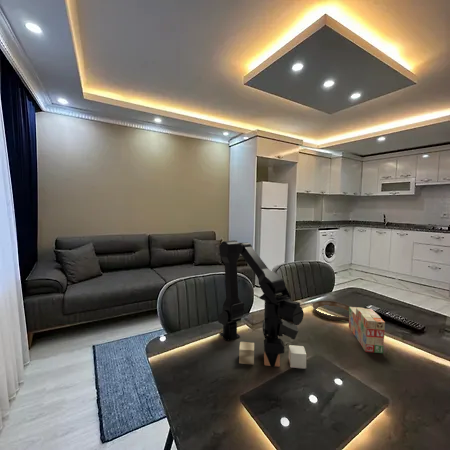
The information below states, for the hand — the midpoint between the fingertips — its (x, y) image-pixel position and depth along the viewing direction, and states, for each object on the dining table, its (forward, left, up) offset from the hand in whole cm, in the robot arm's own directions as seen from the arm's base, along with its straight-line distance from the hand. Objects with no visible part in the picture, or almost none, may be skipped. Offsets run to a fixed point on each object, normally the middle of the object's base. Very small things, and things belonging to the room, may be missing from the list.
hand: (271, 358), depth 87 cm
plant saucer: (-17, +55, -2) cm, 58 cm away
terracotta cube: (0, 0, -1) cm, 1 cm away
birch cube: (-5, -7, -1) cm, 9 cm away
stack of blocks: (+6, +44, -1) cm, 45 cm away
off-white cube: (+5, +7, -1) cm, 9 cm away
